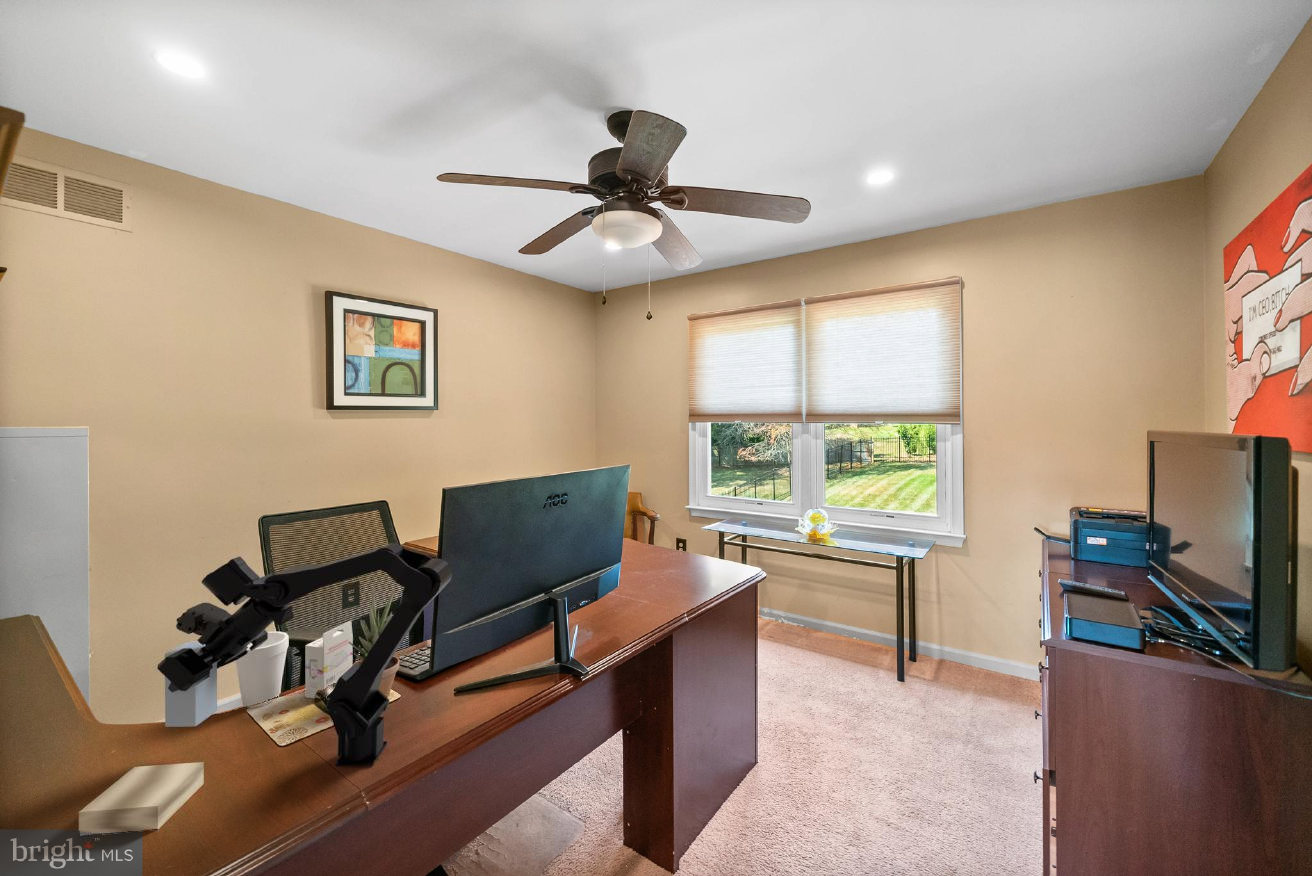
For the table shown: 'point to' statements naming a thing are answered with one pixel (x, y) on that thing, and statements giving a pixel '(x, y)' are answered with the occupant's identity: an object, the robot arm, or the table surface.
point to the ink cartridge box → (328, 658)
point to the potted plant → (372, 638)
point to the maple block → (142, 798)
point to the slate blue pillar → (191, 697)
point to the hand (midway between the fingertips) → (183, 682)
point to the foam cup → (262, 670)
